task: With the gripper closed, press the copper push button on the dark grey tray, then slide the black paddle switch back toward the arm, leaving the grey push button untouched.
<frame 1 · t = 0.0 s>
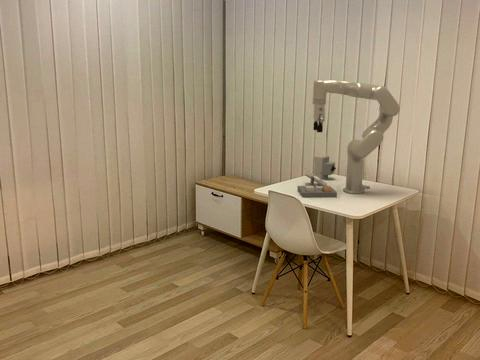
hand: (317, 131, 278), 37 cm above the table, tool pointing down, fingers open, 9 cm apart
dark grey tray: (316, 194, 281), on the table
pale slanted lever: (315, 185, 303), on the table
grey button: (309, 189, 276), point 4 cm above the table, slide at 0.0 cm
copper button: (326, 189, 276), point 4 cm above the table, slide at 0.0 cm
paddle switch: (312, 181, 284), point 6 cm above the table, slide at 0.0 cm
circuit breaker: (324, 178, 321), on the table
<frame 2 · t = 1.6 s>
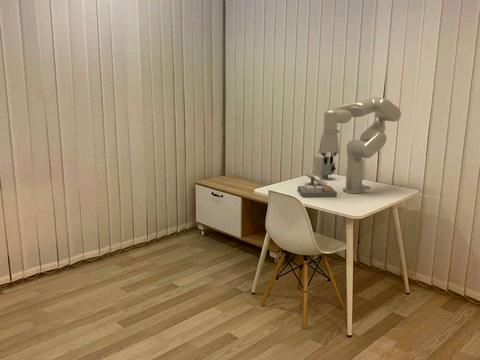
hand: (328, 163, 273), 19 cm above the table, tool pointing down, fingers closed
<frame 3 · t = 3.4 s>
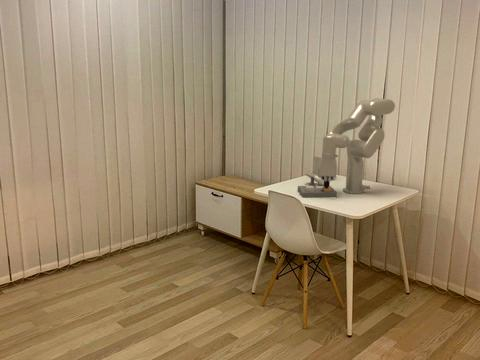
hand: (326, 187, 276), 5 cm above the table, tool pointing down, fingers closed
copper button: (326, 189, 277), point 4 cm above the table, slide at 0.6 cm, touching gripper
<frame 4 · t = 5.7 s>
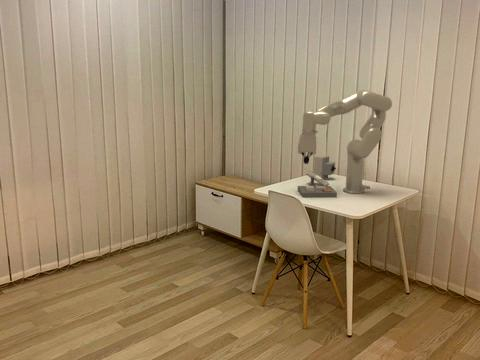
hand: (306, 163, 280), 18 cm above the table, tool pointing down, fingers closed
copper button: (326, 191, 277), point 2 cm above the table, slide at 1.6 cm
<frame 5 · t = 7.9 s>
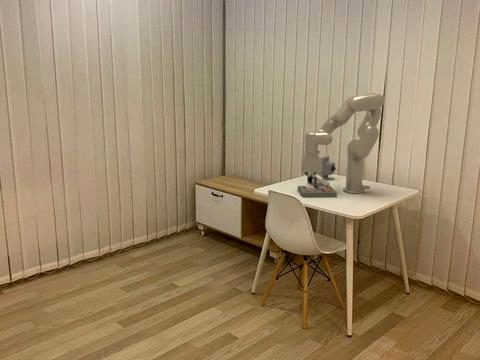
hand: (309, 183, 284), 6 cm above the table, tool pointing down, fingers closed
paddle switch: (315, 181, 284), point 6 cm above the table, slide at 1.7 cm, touching gripper
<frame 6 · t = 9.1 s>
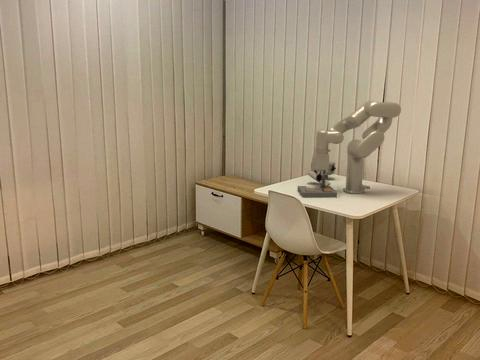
hand: (318, 181, 284), 7 cm above the table, tool pointing down, fingers closed
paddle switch: (323, 181, 284), point 6 cm above the table, slide at 6.6 cm, touching gripper
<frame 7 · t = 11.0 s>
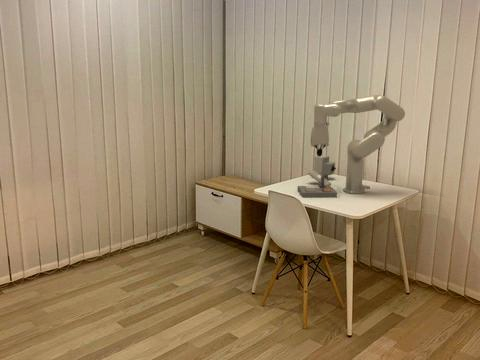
hand: (319, 155, 282), 22 cm above the table, tool pointing down, fingers closed
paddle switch: (322, 181, 284), point 6 cm above the table, slide at 6.1 cm
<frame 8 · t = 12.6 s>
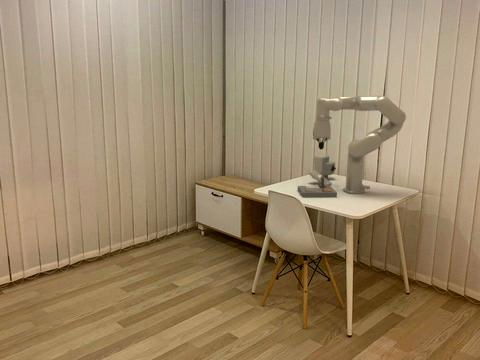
hand: (321, 149, 287), 25 cm above the table, tool pointing down, fingers closed
at the end: copper button slide at 1.6 cm; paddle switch slide at 6.1 cm; grey button slide at 0.0 cm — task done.
